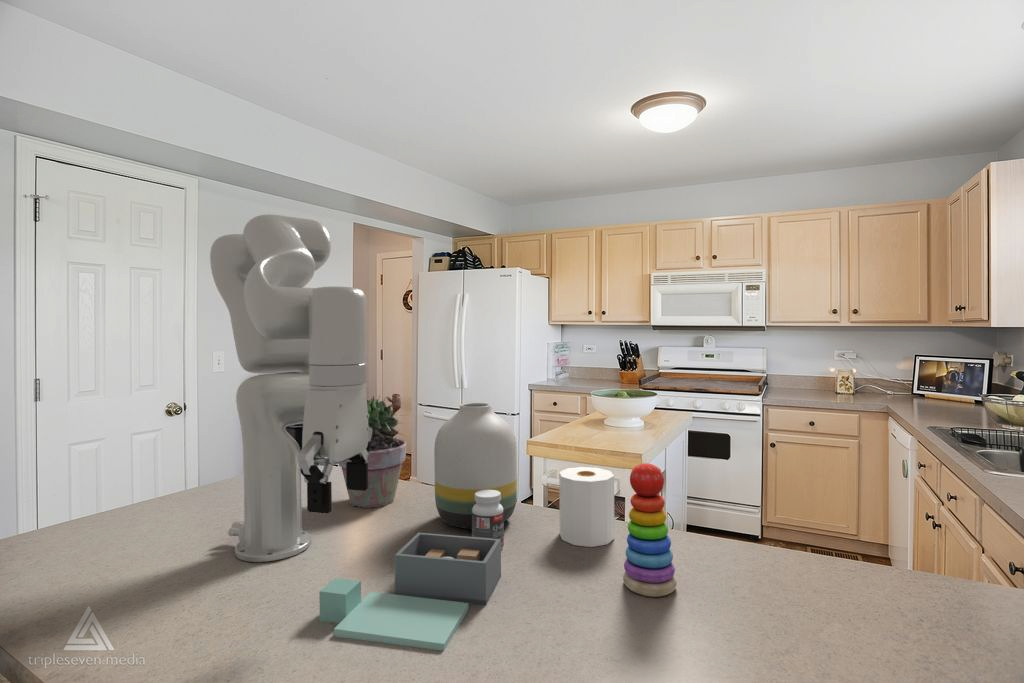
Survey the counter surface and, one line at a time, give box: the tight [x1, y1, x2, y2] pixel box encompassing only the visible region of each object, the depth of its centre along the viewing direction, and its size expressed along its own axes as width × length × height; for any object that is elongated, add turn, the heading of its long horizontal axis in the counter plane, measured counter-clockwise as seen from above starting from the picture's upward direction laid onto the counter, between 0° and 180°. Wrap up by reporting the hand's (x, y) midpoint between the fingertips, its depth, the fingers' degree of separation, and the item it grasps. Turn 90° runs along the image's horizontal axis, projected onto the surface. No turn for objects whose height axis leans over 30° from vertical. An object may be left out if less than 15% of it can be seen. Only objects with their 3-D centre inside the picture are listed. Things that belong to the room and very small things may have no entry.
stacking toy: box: [622, 462, 677, 598], centre depth 82 cm, size 8×8×19 cm
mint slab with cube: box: [318, 577, 470, 652], centre depth 73 cm, size 19×10×4 cm, turn 77°
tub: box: [394, 532, 502, 606], centre depth 82 cm, size 14×9×6 cm, turn 77°
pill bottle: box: [471, 490, 505, 550], centre depth 97 cm, size 6×6×10 cm
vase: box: [433, 402, 518, 530], centre depth 110 cm, size 17×17×24 cm
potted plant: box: [337, 393, 407, 509], centre depth 123 cm, size 18×20×25 cm
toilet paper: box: [558, 466, 615, 548], centre depth 102 cm, size 10×10×12 cm
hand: (339, 500), depth 74 cm, fingers open, 9 cm apart
